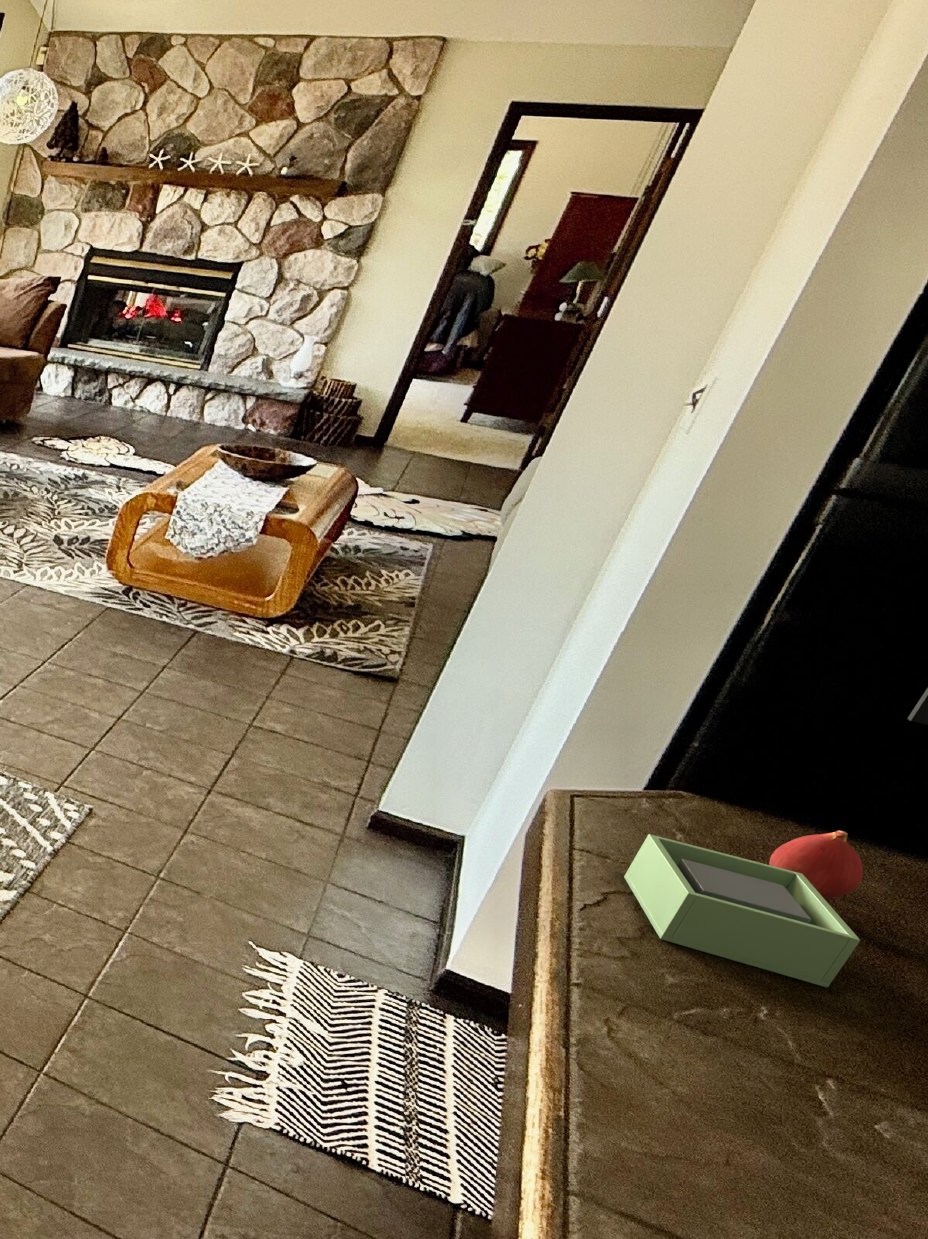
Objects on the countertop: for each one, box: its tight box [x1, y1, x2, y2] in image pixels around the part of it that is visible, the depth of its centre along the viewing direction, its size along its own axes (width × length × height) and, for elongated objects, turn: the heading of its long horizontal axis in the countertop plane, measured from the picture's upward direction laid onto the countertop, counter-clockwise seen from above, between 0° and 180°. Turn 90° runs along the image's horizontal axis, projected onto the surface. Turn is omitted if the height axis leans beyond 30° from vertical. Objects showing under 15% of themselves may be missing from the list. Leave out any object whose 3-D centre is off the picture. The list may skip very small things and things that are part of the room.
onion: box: [768, 830, 864, 900], centre depth 111 cm, size 6×6×8 cm
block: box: [677, 859, 811, 924], centre depth 106 cm, size 7×7×4 cm
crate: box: [623, 833, 861, 989], centre depth 106 cm, size 11×13×5 cm
